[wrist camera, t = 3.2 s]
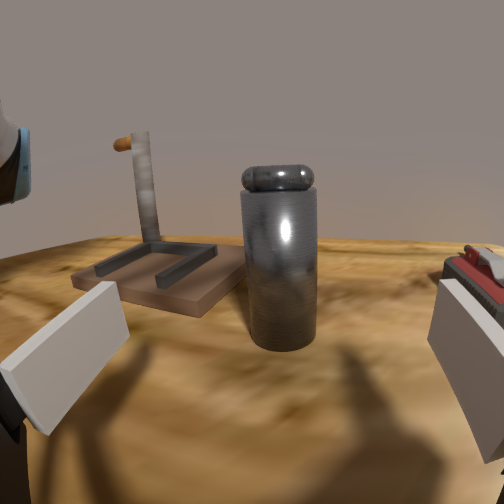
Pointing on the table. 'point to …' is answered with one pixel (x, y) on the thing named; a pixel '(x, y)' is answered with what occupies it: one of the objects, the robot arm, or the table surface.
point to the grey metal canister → (280, 254)
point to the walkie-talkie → (480, 278)
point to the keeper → (164, 256)
